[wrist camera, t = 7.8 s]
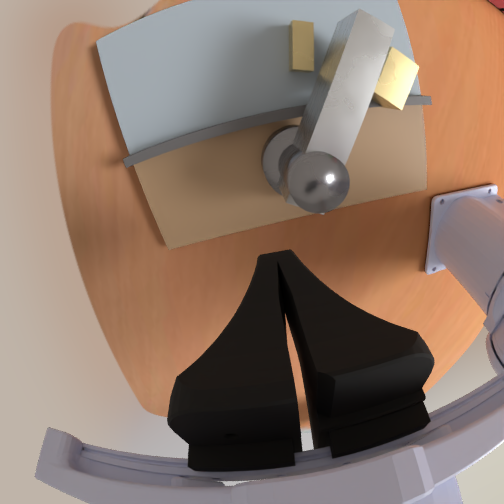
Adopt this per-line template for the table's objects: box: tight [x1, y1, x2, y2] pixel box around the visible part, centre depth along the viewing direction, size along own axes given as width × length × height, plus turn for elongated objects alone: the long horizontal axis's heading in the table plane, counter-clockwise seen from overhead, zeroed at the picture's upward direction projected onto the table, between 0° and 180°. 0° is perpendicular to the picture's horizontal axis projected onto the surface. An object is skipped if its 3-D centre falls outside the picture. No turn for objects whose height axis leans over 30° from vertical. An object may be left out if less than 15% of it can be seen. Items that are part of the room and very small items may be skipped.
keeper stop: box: [372, 47, 419, 110], centre depth 12 cm, size 3×2×3 cm, turn 159°
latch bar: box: [277, 9, 395, 215], centre depth 11 cm, size 10×3×4 cm, turn 162°
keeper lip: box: [289, 20, 314, 73], centre depth 12 cm, size 3×1×1 cm, turn 0°
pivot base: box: [261, 125, 299, 196], centre depth 15 cm, size 4×4×2 cm
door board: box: [96, 0, 432, 250], centre depth 14 cm, size 20×16×2 cm
